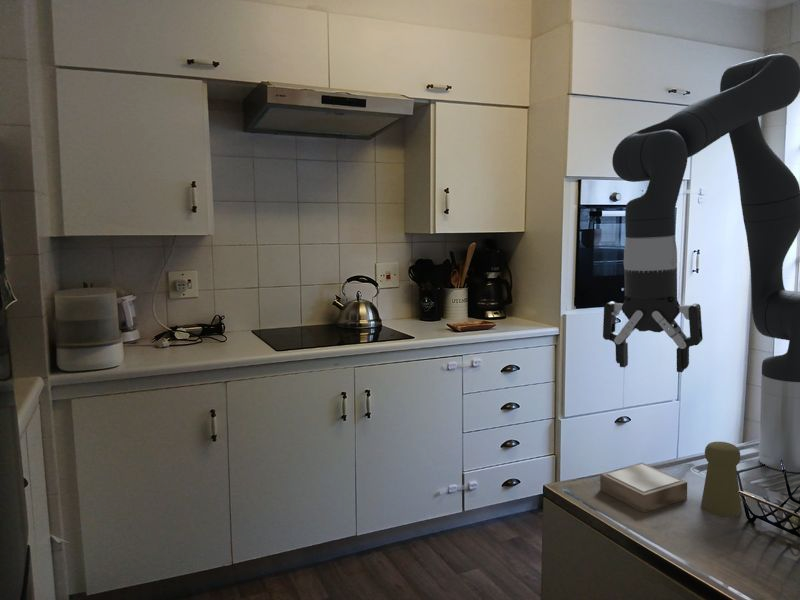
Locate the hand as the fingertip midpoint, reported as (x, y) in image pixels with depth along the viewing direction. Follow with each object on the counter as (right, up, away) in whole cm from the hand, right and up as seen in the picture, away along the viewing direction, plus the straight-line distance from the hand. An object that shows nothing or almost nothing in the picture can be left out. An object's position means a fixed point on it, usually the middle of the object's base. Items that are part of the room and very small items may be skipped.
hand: (651, 368), depth 97 cm
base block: (+3, -23, +11) cm, 26 cm away
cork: (+14, -24, +5) cm, 28 cm away
